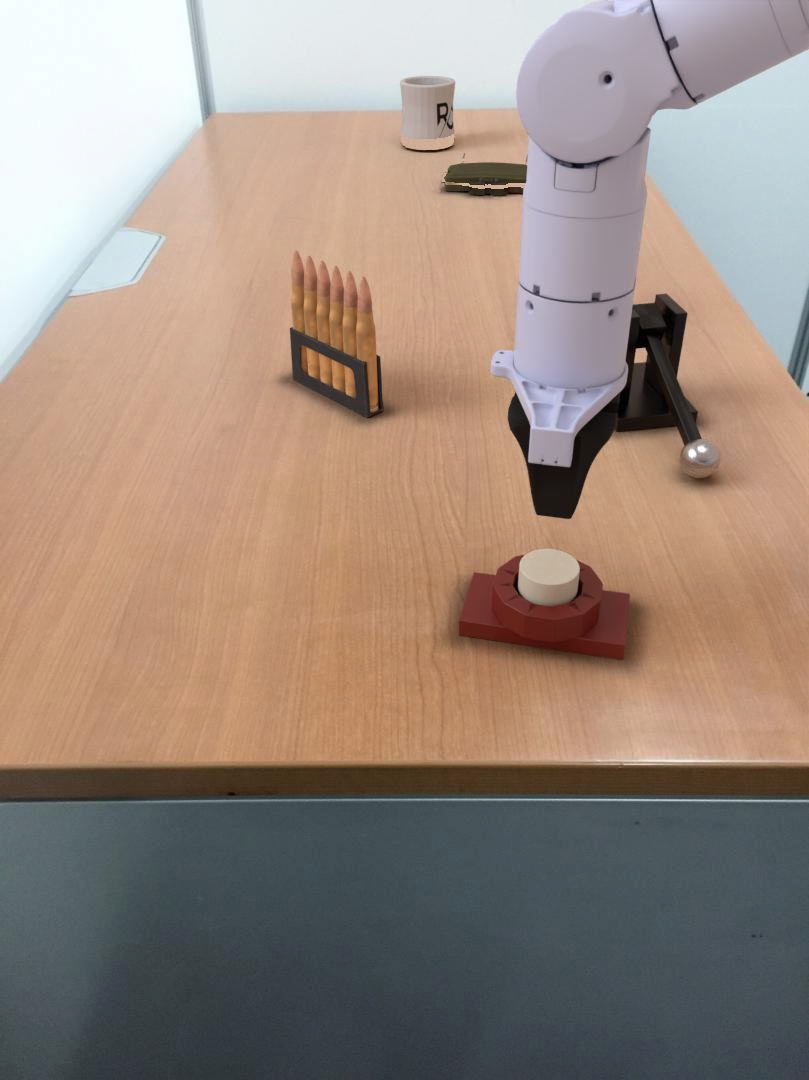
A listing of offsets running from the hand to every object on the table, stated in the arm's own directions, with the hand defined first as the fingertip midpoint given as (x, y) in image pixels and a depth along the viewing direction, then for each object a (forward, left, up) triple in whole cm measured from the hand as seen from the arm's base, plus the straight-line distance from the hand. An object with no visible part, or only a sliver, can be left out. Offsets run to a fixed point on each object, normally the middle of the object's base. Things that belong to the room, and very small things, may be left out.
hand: (554, 510), depth 55 cm
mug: (+34, -119, -8) cm, 124 cm away
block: (0, 0, -8) cm, 8 cm away
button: (0, 0, -6) cm, 6 cm away
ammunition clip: (+22, -27, -8) cm, 36 cm away
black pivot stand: (-4, -31, -8) cm, 33 cm away
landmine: (+20, -98, -8) cm, 100 cm away
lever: (-6, -26, -5) cm, 27 cm away
